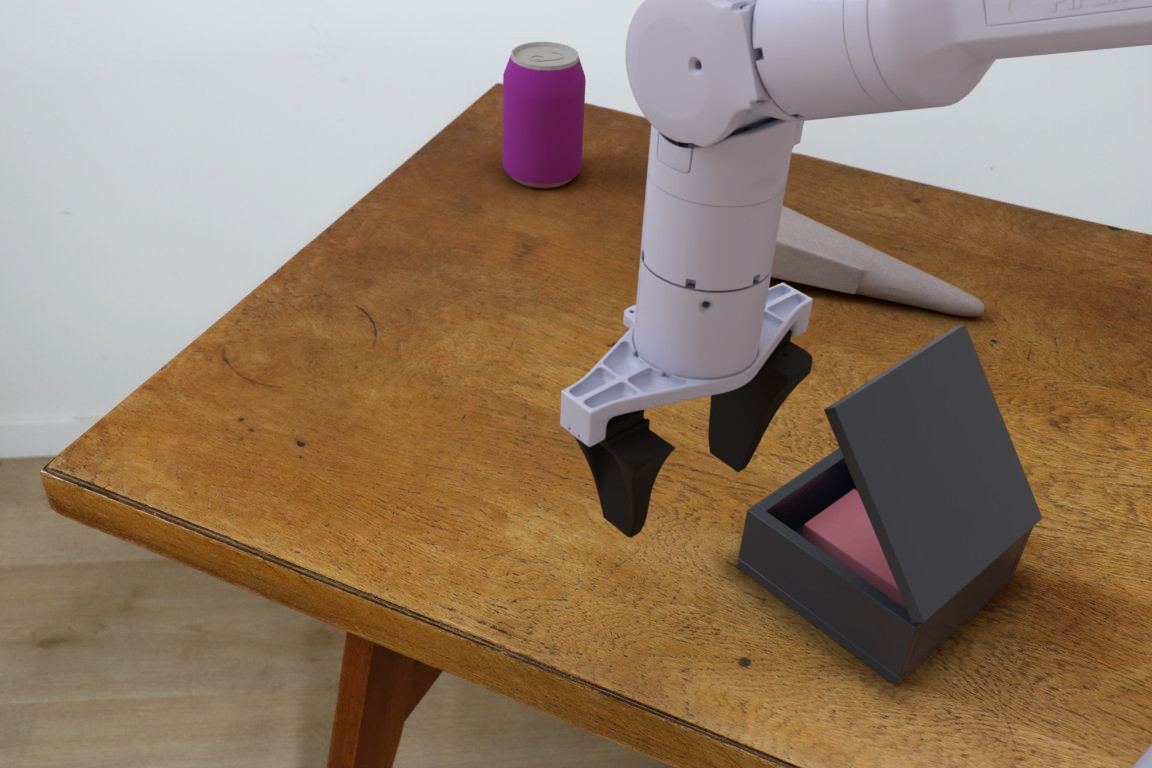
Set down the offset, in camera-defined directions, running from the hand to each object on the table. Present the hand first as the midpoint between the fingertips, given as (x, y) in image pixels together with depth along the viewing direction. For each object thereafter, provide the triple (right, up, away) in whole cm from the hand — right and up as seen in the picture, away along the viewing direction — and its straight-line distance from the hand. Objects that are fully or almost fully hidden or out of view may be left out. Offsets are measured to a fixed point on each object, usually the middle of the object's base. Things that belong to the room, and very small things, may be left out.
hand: (676, 491), depth 56 cm
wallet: (+13, -6, +11) cm, 18 cm away
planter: (+16, +15, +40) cm, 45 cm away
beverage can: (-8, +26, +52) cm, 59 cm away
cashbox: (+13, -6, +11) cm, 18 cm away
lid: (+14, +1, +4) cm, 15 cm away
